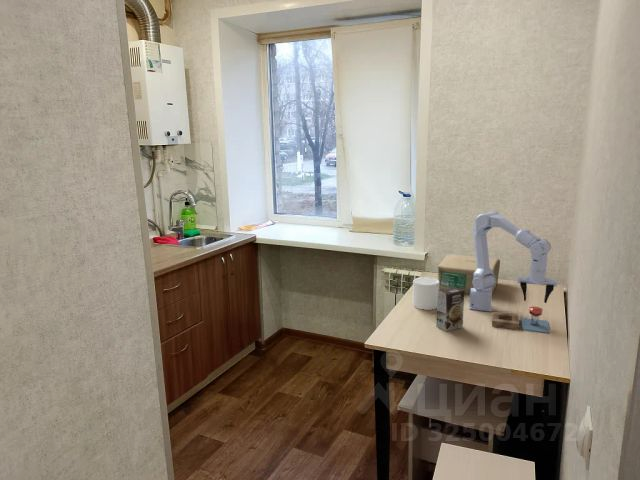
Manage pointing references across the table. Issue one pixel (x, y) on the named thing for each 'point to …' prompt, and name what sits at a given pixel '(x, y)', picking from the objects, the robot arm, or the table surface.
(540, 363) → the table surface
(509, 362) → the table surface
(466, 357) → the table surface
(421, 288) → the cup
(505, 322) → the eye block
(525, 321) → the mat
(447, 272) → the paper package
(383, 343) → the table surface
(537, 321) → the red mushroom head
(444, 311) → the coffee box
